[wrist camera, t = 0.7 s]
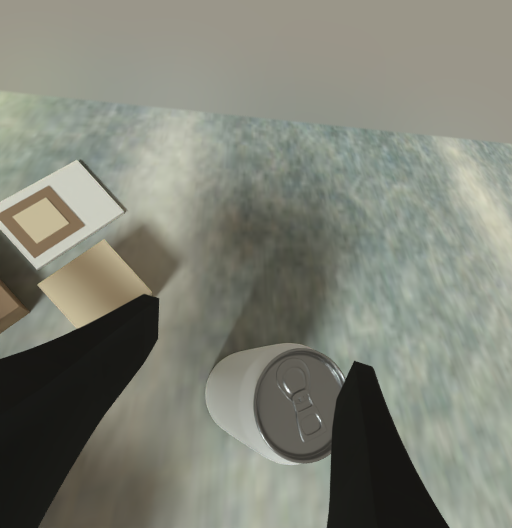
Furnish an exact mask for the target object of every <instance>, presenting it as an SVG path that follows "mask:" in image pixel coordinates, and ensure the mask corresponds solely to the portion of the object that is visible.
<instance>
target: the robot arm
mask: <svg viewBox="0 0 512 528" xmlns="http://www.w3.org/2000/svg"><path fill="white" fill-rule="evenodd" d="M158 320H159V298H156V297H153V296H150V295H147V294H142V295H141V296H139V297H137V298H135V299H133V300H131V301H129V302H128V303H126V304H124V305H122V306H120V307H118V308H117V309H115V310H113V311H111V312H109V313H107V314H106V315H104V316H102V317H100V318H98V319H96V320H94V321H92V322H90V323H88V324H86V325H84V326H82V327H80V328H78V329H76V330H74V331H72V332H70V333H67V334H65V335H63V336H61V337H59V338H56V339H54V340H52V341H49V342H47V343H44V344H42V345H39V346H37V347H34V348H31V349H29V350H26V351H23V352H20V353H17V354H14V355H11V356H8V357H5V358H2V359H0V528H38V526H39V524H40V523H41V521H42V519H43V517H44V515H45V513H46V511H47V510H48V508H49V506H50V504H51V502H52V501H53V499H54V497H55V495H56V494H57V492H58V490H59V488H60V486H61V485H62V483H63V481H64V479H65V478H66V476H67V474H68V473H69V471H70V469H71V468H72V466H73V464H74V463H75V461H76V459H77V457H78V456H79V454H80V452H81V451H82V449H83V447H84V446H85V444H86V443H87V441H88V439H89V438H90V436H91V435H92V433H93V431H94V430H95V428H96V427H97V425H98V424H99V422H100V421H101V419H102V418H103V416H104V415H105V414H106V412H107V411H108V410H109V408H110V407H111V406H112V404H113V403H114V402H115V400H116V399H117V398H118V397H119V395H120V394H121V393H122V391H123V390H124V389H125V387H126V386H127V385H128V383H129V382H130V381H131V379H132V378H133V377H134V376H135V374H136V373H137V372H138V370H139V369H140V368H141V366H142V365H143V363H144V362H145V360H146V359H147V357H148V355H149V354H150V352H151V350H152V348H153V347H154V345H155V343H156V341H157V340H158ZM327 528H449V526H448V525H447V523H446V521H445V520H444V518H443V517H442V515H441V514H440V512H439V510H438V509H437V507H436V505H435V504H434V502H433V500H432V498H431V497H430V495H429V493H428V492H427V490H426V488H425V486H424V484H423V483H422V481H421V479H420V477H419V475H418V473H417V471H416V469H415V468H414V466H413V464H412V462H411V460H410V458H409V455H408V453H407V451H406V449H405V447H404V445H403V443H402V441H401V438H400V436H399V434H398V432H397V429H396V427H395V425H394V422H393V420H392V417H391V415H390V413H389V410H388V407H387V405H386V402H385V400H384V397H383V394H382V391H381V389H380V386H379V383H378V380H377V377H376V374H375V371H374V369H373V367H372V366H369V365H365V364H362V363H359V362H356V361H354V363H353V365H352V367H351V369H350V371H349V373H348V375H347V378H346V380H345V382H344V384H343V386H342V388H341V390H340V392H339V394H338V397H337V399H336V405H335V411H334V418H333V425H332V445H331V476H330V502H329V514H328V522H327Z"/></svg>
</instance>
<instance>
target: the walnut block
mask: <svg viewBox="0 0 512 528" xmlns="http://www.w3.org/2000/svg"><path fill="white" fill-rule="evenodd" d="M29 313H30V312H29V311H28V309H27V308H26V307H25V306H24V305H23V304H22V303H21V302H20V301H19V299H18V298H17V297H16V296H15V295H14V294H13V293H12V292H11V291H10V289H9V288H8V287H7V286H6V285H5V284H4V283H3V282H2V281H1V280H0V333H2V332H3V331H5V330H6V329H7V328H9V327H10V326H12V325H13V324H14V323H16V322H17V321H19V320H20V319H21V318H23V317H24V316H26V315H27V314H29Z"/></svg>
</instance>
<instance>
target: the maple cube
mask: <svg viewBox="0 0 512 528" xmlns="http://www.w3.org/2000/svg"><path fill="white" fill-rule="evenodd" d="M37 285H38V286H39V287H40V289H41V290H42V291H43V292H44V293H45V294H46V295H47V296H48V297H49V298H50V300H51V301H52V302H53V303H54V304H55V305H56V306H57V307H58V308H59V310H60V311H61V312H62V313H63V314H64V315H65V316H66V317H67V318H68V319H69V321H70V322H71V323H72V324H73V325H74V326H75V327H76V328H77V329H78V328H80V327H82V326H84V325H86V324H88V323H90V322H92V321H94V320H96V319H98V318H100V317H102V316H104V315H106V314H107V313H109V312H111V311H113V310H115V309H117V308H118V307H120V306H122V305H124V304H126V303H128V302H129V301H131V300H133V299H135V298H137V297H139V296H141V295H142V294H147V295H150V296H152V291H151V290H150V289H149V288H148V287H147V286H146V285H145V284H144V283H143V281H142V280H141V279H140V278H139V277H138V276H137V275H136V274H135V273H134V272H133V270H132V269H131V268H130V267H129V266H128V265H127V264H126V263H125V262H124V261H123V259H122V258H121V257H120V256H119V255H118V254H117V253H116V252H115V251H114V250H113V248H112V247H111V246H110V245H109V244H108V243H107V242H106V241H105V240H104V239H103V240H102V241H100V242H99V243H97V244H96V245H94V246H93V247H92V248H90V249H89V250H87V251H86V252H84V253H83V254H81V255H80V256H78V257H77V258H75V259H74V260H72V261H71V262H70V263H68V264H67V265H65V266H64V267H62V268H61V269H59V270H58V271H56V272H55V273H53V274H52V275H50V276H49V277H47V278H46V279H45V280H43V281H42V282H40V283H39V284H37Z"/></svg>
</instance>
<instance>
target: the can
mask: <svg viewBox="0 0 512 528" xmlns="http://www.w3.org/2000/svg"><path fill="white" fill-rule="evenodd" d="M345 380H346V379H345V377H344V375H343V373H342V371H341V370H340V369H339V367H338V366H337V365H336V364H335V363H334V362H333V361H332V360H331V359H330V358H329V357H327V356H326V355H324V354H322V353H320V352H318V351H316V350H314V349H312V348H310V347H308V346H305V345H301V344H296V343H281V344H275V345H269V346H264V347H259V348H254V349H249V350H244V351H240V352H236V353H233V354H231V355H229V356H227V357H225V358H224V359H222V360H221V361H220V362H219V363H218V364H217V365H216V366H215V367H214V368H213V370H212V371H211V373H210V375H209V377H208V380H207V384H206V390H205V399H206V405H207V409H208V411H209V414H210V415H211V417H212V419H213V420H214V421H215V423H216V424H217V425H218V426H219V427H220V428H222V429H223V430H224V431H226V432H227V433H229V434H230V435H231V436H233V437H234V438H236V439H237V440H239V441H240V442H242V443H243V444H245V445H246V446H248V447H249V448H251V449H252V450H254V451H255V452H257V453H259V454H260V455H262V456H264V457H265V458H267V459H269V460H271V461H274V462H277V463H280V464H286V465H297V464H302V463H312V462H316V461H319V460H321V459H323V458H325V457H327V456H328V455H330V454H331V445H332V425H333V418H334V411H335V405H336V399H337V397H338V394H339V392H340V390H341V388H342V386H343V384H344V382H345Z"/></svg>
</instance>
